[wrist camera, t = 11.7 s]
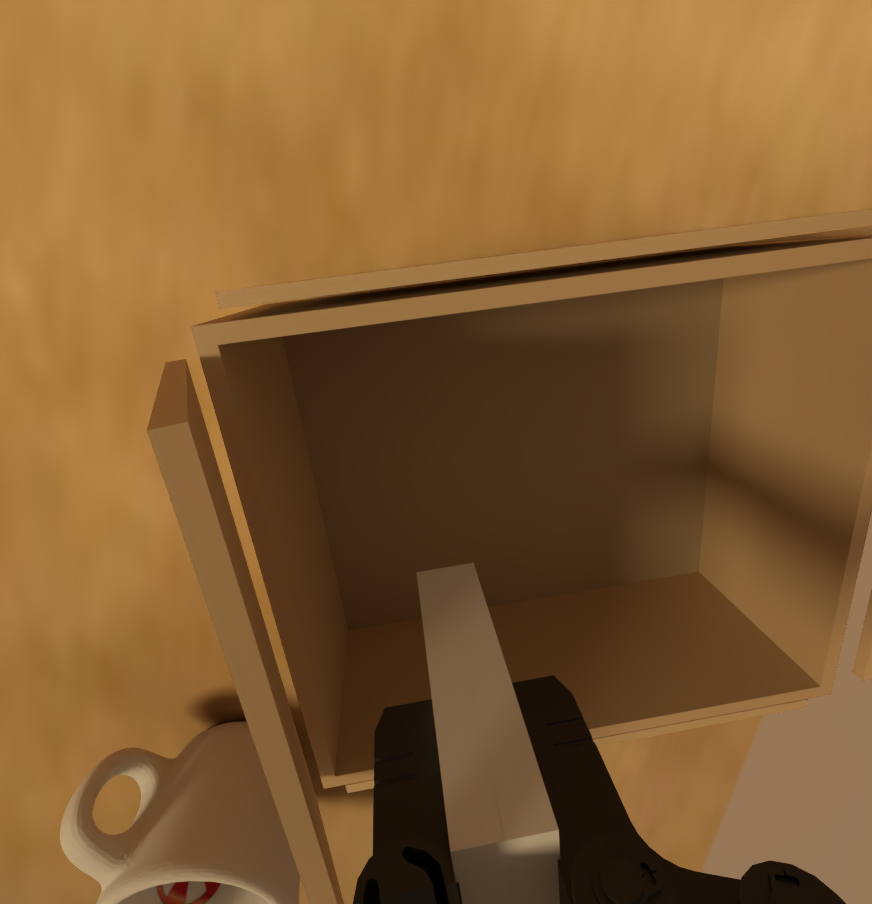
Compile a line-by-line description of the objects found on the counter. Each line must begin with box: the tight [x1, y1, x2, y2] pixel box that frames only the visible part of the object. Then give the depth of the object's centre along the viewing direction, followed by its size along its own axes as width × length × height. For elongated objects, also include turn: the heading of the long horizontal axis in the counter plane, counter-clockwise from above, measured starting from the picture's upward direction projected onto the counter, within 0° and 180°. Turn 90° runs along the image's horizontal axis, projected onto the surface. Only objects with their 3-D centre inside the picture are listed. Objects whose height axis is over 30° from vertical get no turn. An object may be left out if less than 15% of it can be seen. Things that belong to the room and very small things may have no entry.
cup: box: [60, 721, 300, 904], centre depth 23 cm, size 11×8×8 cm
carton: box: [191, 209, 872, 793], centre depth 19 cm, size 17×19×8 cm
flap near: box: [147, 359, 344, 904], centre depth 11 cm, size 15×1×7 cm, turn 7°
